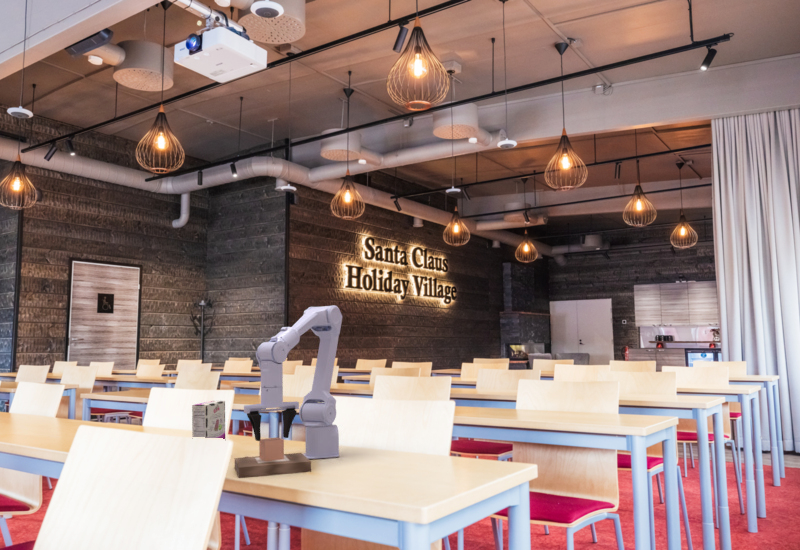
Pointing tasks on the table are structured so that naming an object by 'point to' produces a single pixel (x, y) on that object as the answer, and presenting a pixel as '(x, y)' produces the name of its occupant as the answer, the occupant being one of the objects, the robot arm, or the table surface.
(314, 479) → the table surface
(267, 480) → the table surface
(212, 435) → the candy bar box
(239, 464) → the walnut plinth
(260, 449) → the terracotta cube
